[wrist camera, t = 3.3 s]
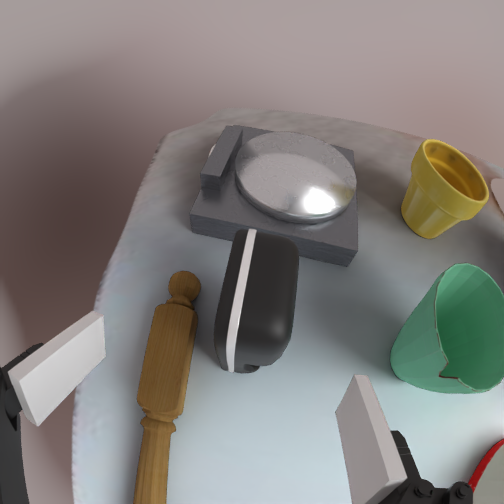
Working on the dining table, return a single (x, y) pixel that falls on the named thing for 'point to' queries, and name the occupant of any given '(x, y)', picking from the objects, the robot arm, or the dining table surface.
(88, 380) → the dining table surface
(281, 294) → the battery charger
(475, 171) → the plant pot
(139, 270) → the dining table surface
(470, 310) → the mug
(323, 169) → the scale
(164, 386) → the turned wooden baluster
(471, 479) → the kitchen timer
